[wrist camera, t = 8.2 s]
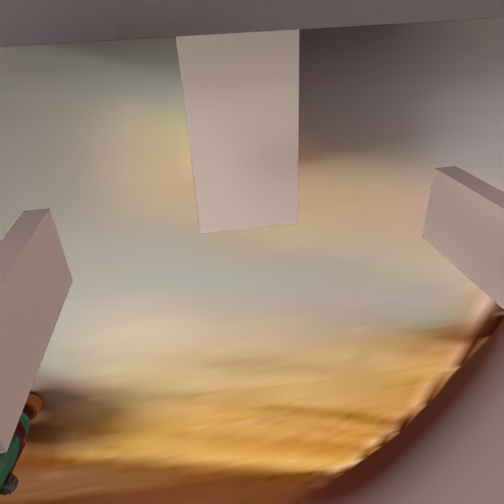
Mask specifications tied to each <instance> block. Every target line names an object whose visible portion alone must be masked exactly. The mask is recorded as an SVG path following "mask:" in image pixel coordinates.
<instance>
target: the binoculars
mask: <svg viewBox="0 0 504 504" xmlns="http://www.w3.org/2000/svg"><path fill="white" fill-rule="evenodd" d="M41 407H42V400H41V398H40V397H38V396H36V395H34V394H29V395H28V398H27V400H26V403H25V406H24V408H23V411H22V414H21V416H20V419H19V421H18V424H17V427H16V429H15V432H14V434H13V437H12V440H11V442H10V445H9V447H8V450H7V452H5V453H0V494H2V495H6V494H11V493H12V492H14V490H15V489H16V486H17V484H18V481H19V480H18V479H17V476H15V475H14V474H13V473H12V471H13V469H14V467H15V465H16V462H17V460H18V458H19V456H20V454H21V452H22V450H23V448H24V446H25V442H26V439H27V437H28V433H29V428H30V421H31V420H33V419H35V418H36V417H37V415H38V413H39V411H40V409H41Z"/></svg>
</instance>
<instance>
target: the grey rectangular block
mask: <svg viewBox="0 0 504 504" xmlns="http://www.w3.org/2000/svg"><path fill="white" fill-rule="evenodd" d="M176 43H177V51H178V59H179V67H180V75H181V83H182V90H183V98H184V106H185V114H186V122H187V130H188V138H189V146H190V153H191V161H192V169H193V177H194V185H195V193H196V201H197V209H198V217H199V224H200V232H201V234H204V233H213V232H223V231H232V230H241V229H250V228H260V227H269V226H278V225H288V224H297V223H298V150H299V29H297V30H280V31H263V32H246V33H229V34H212V35H195V36H178V37H176Z"/></svg>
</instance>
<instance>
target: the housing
mask: <svg viewBox="0 0 504 504" xmlns="http://www.w3.org/2000/svg"><path fill="white" fill-rule="evenodd" d="M502 17H504V0H0V47H7V46H24V45H41V44H58V43H76V42H93V41H110V40H127V39H144V38H161V37H178V36H195V35H212V34H229V33H246V32H263V31H280V30H297V29H315V28H332V27H349V26H366V25H383V24H400V23H417V22H434V21H451V20H468V19H485V18H502Z"/></svg>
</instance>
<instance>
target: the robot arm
mask: <svg viewBox="0 0 504 504" xmlns="http://www.w3.org/2000/svg"><path fill="white" fill-rule="evenodd" d="M422 237H423V238H424V239H426V240H427V241H428V242H429V243H430V244H431V245H432V246H433V247H434V248H436V249H437V250H438V251H439V252H440V253H441V254H442V255H443V256H445V257H446V258H447V259H448V260H449V261H450V262H451V263H452V264H453V265H455V266H456V267H457V268H458V269H459V270H460V271H461V272H462V273H464V274H465V275H466V276H467V277H468V278H469V279H470V280H471V281H472V282H474V283H475V284H476V285H477V286H478V287H479V288H480V289H481V290H483V291H484V292H485V293H486V294H487V295H488V296H489V297H490V298H491V299H493V300H494V301H495V302H496V303H497V304H498V305H499V306H500V307H502V308H503V309H504V192H502V191H500V190H498V189H496V188H495V187H493V186H491V185H489V184H487V183H485V182H483V181H482V180H480V179H478V178H476V177H474V176H472V175H470V174H469V173H467V172H465V171H463V170H461V169H459V168H457V167H456V166H453V167H444V168H435V172H434V178H433V183H432V188H431V194H430V199H429V204H428V210H427V215H426V220H425V226H424V231H423V236H422ZM72 281H73V280H72V277H71V274H70V271H69V268H68V264H67V261H66V258H65V255H64V252H63V249H62V246H61V243H60V240H59V237H58V234H57V230H56V227H55V224H54V221H53V218H52V215H51V212H50V209H41V210H31V211H24V212H23V213H22V215H21V216H20V217H19V219H18V220H17V221H16V222H15V224H14V225H13V226H12V228H11V229H10V230H9V232H8V233H7V234H6V236H5V237H4V238H3V239H2V241H1V242H0V453H5V452H7V450H8V447H9V445H10V442H11V440H12V437H13V434H14V432H15V429H16V427H17V424H18V421H19V419H20V416H21V414H22V411H23V408H24V406H25V403H26V400H27V398H28V395H29V393H30V390H31V387H32V385H33V382H34V380H35V377H36V374H37V372H38V369H39V367H40V364H41V361H42V359H43V356H44V354H45V351H46V348H47V346H48V343H49V341H50V338H51V335H52V333H53V330H54V328H55V325H56V322H57V320H58V317H59V315H60V312H61V309H62V307H63V304H64V302H65V299H66V296H67V294H68V291H69V288H70V286H71V283H72Z"/></svg>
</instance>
